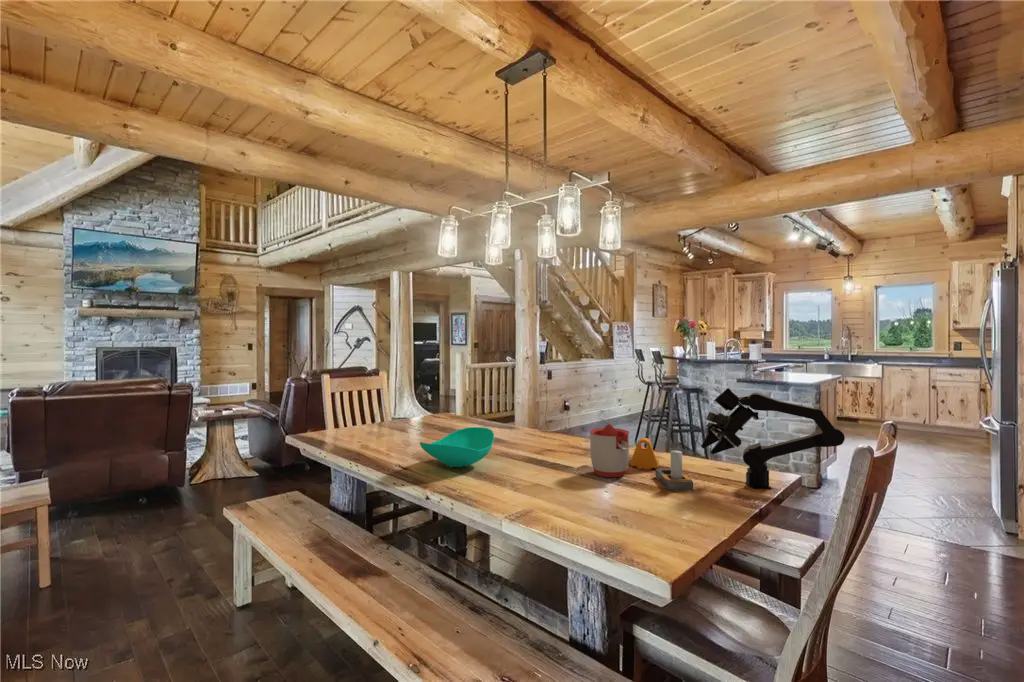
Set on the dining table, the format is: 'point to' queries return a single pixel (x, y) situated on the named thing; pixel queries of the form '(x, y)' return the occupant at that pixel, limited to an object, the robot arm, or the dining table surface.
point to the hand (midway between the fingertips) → (706, 450)
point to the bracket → (644, 455)
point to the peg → (676, 465)
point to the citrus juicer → (609, 451)
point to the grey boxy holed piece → (673, 480)
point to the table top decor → (461, 446)
